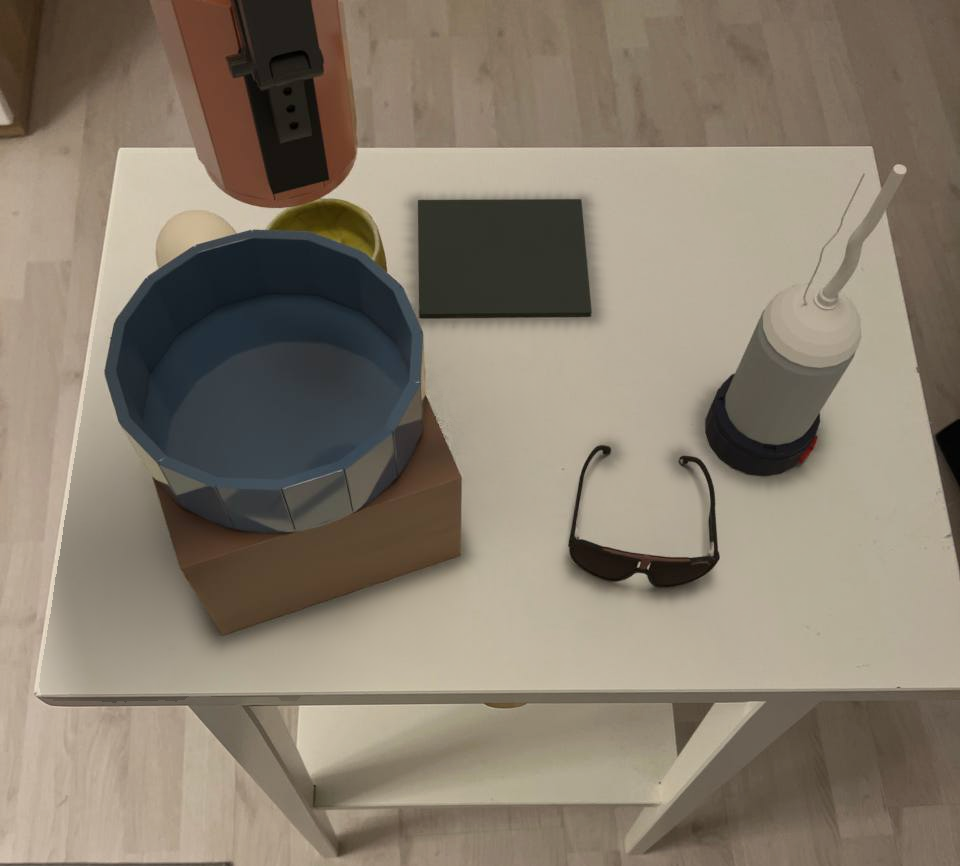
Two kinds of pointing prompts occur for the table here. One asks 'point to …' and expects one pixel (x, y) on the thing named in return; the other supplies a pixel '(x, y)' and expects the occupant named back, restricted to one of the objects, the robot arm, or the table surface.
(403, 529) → the riser
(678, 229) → the table surface
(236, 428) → the bowl
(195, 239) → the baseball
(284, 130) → the robot arm
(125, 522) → the table surface
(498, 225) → the mat
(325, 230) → the mug
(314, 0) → the cup
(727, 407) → the humidifier
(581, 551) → the sunglasses
